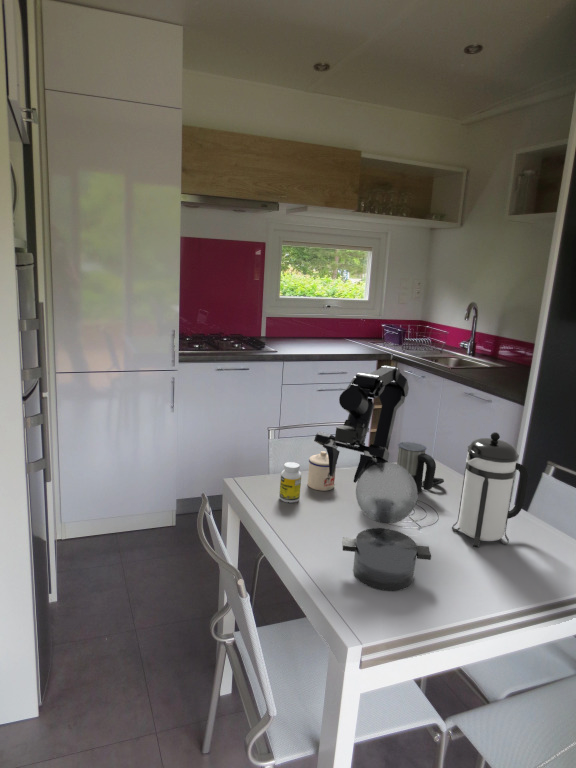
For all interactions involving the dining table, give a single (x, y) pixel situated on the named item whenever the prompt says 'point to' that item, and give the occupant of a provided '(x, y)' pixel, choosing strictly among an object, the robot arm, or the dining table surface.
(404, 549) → the steel pot
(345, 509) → the dining table surface
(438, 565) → the dining table surface
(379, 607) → the dining table surface
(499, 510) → the coffee press
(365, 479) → the pot lid
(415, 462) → the milk frother
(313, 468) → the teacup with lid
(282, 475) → the pill bottle
